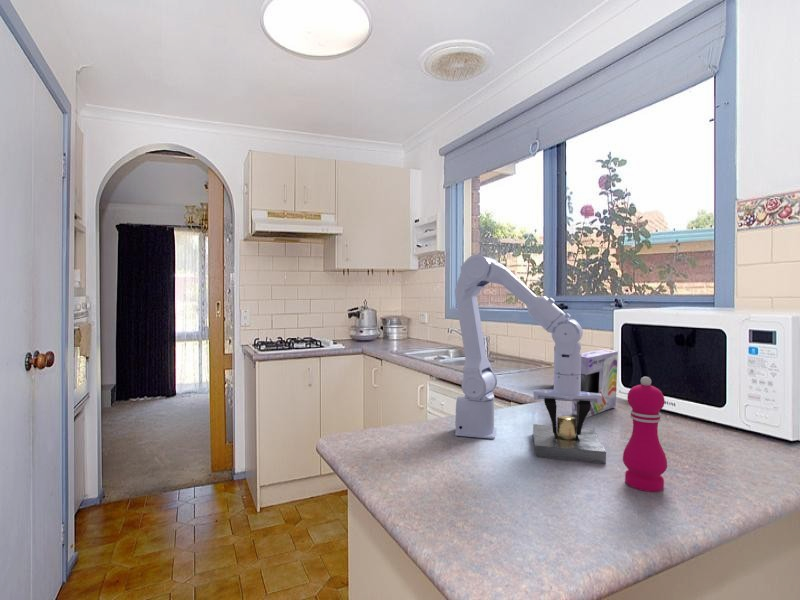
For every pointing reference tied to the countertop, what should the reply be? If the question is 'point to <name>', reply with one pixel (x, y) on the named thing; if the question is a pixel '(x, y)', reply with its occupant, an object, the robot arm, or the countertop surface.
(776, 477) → the countertop surface
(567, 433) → the brass cylinder
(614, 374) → the cake pan box
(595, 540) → the countertop surface
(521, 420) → the countertop surface
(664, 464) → the pepper mill
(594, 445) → the plate
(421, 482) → the countertop surface
